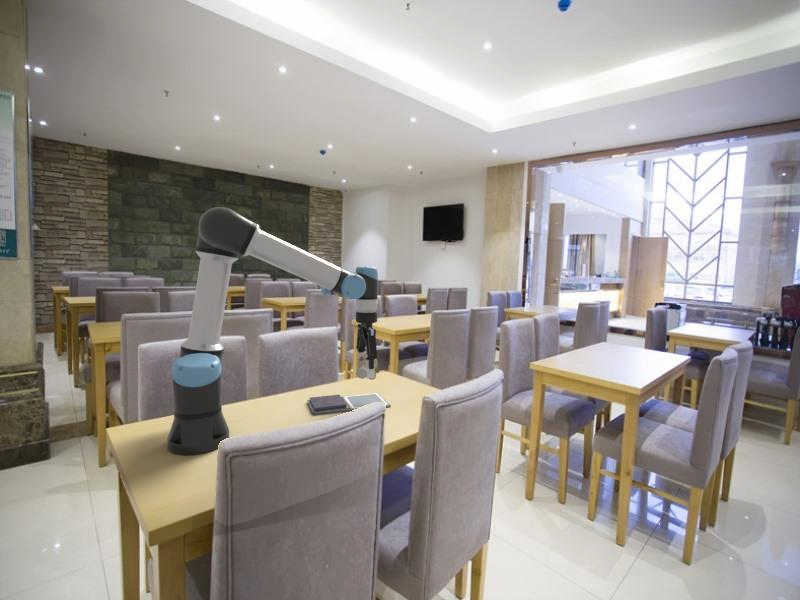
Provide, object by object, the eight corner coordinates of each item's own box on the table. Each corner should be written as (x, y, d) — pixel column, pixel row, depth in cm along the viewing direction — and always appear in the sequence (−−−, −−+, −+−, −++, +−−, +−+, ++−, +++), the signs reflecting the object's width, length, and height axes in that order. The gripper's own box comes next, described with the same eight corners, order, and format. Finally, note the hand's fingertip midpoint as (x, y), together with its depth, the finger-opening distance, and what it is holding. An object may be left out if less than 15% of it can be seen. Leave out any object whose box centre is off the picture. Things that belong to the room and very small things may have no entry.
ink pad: (313, 414, 133) (313, 408, 133) (307, 402, 144) (307, 397, 144) (349, 410, 137) (349, 404, 137) (340, 399, 148) (340, 393, 148)
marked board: (351, 411, 137) (351, 409, 136) (341, 398, 150) (341, 396, 149) (390, 406, 142) (390, 404, 142) (377, 394, 155) (377, 392, 155)
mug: (350, 380, 139) (350, 352, 143) (363, 385, 148) (363, 358, 152) (370, 377, 137) (369, 348, 141) (382, 383, 145) (381, 356, 149)
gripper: (387, 314, 133) (386, 381, 136) (367, 307, 154) (366, 365, 156) (365, 315, 131) (364, 383, 133) (348, 307, 151) (347, 366, 154)
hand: (366, 373), depth 145 cm, fingers closed on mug, 10 cm apart
